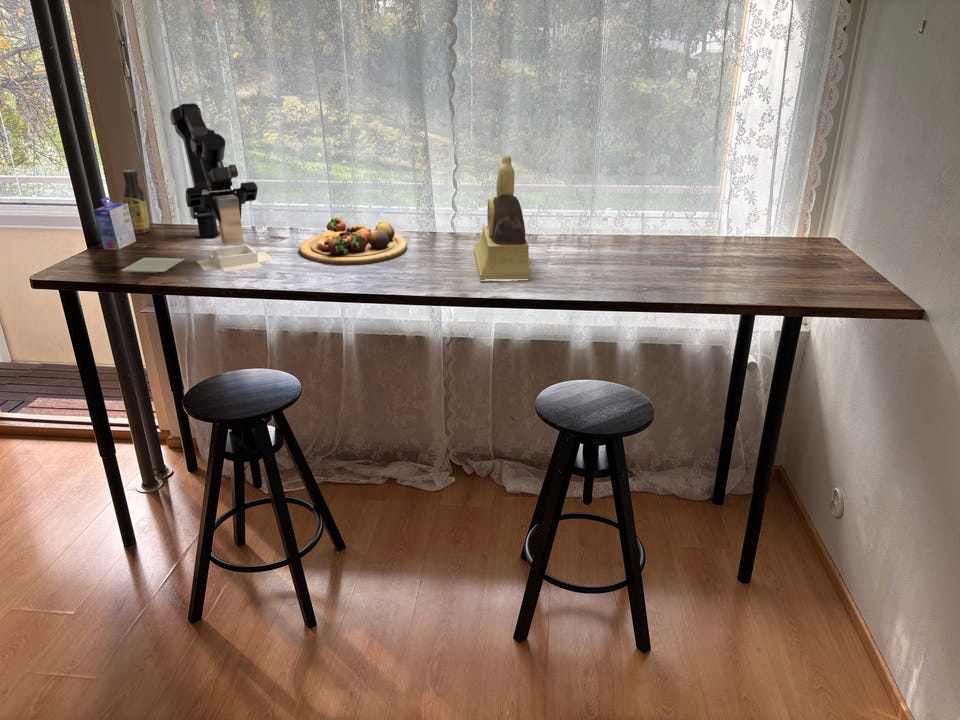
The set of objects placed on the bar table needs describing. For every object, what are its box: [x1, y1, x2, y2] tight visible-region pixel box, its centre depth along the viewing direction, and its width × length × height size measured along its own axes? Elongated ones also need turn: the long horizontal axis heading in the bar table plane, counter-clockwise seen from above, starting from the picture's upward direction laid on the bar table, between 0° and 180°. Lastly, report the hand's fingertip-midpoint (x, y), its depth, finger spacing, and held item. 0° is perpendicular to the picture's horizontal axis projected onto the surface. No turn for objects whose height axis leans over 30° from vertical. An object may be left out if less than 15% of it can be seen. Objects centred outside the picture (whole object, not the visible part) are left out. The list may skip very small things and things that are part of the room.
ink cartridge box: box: [93, 196, 137, 251], centre depth 212 cm, size 10×6×14 cm, turn 174°
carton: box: [196, 244, 275, 273], centre depth 199 cm, size 19×19×3 cm
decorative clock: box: [473, 154, 530, 281], centre depth 190 cm, size 28×13×30 cm, turn 4°
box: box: [214, 195, 245, 246], centre depth 195 cm, size 5×5×12 cm
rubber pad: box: [121, 257, 185, 273], centre depth 196 cm, size 12×12×1 cm
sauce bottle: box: [122, 169, 150, 235], centre depth 225 cm, size 6×6×20 cm
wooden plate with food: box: [298, 216, 408, 266], centre depth 210 cm, size 32×32×8 cm
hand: (230, 220), depth 194 cm, fingers closed on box, 5 cm apart
